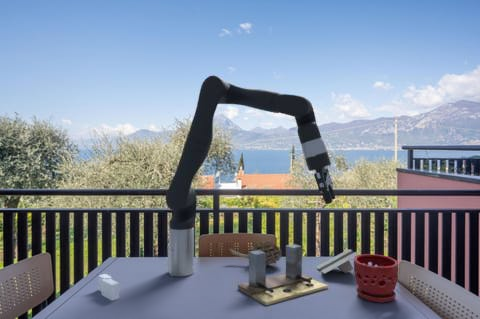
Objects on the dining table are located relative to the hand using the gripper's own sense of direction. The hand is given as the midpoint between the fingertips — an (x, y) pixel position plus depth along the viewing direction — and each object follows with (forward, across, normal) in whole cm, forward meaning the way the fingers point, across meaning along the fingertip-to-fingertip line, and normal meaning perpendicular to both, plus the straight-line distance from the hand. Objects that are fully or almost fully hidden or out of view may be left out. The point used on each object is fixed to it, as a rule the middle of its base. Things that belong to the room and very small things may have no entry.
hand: (330, 201), depth 115 cm
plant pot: (+33, 0, +4) cm, 33 cm away
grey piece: (+29, -19, -10) cm, 36 cm away
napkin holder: (+8, +30, -71) cm, 78 cm away
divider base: (+23, +4, -24) cm, 34 cm away
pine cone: (+19, -16, -40) cm, 47 cm away
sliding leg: (+20, +11, -27) cm, 36 cm away
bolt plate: (+24, +7, -20) cm, 32 cm away
